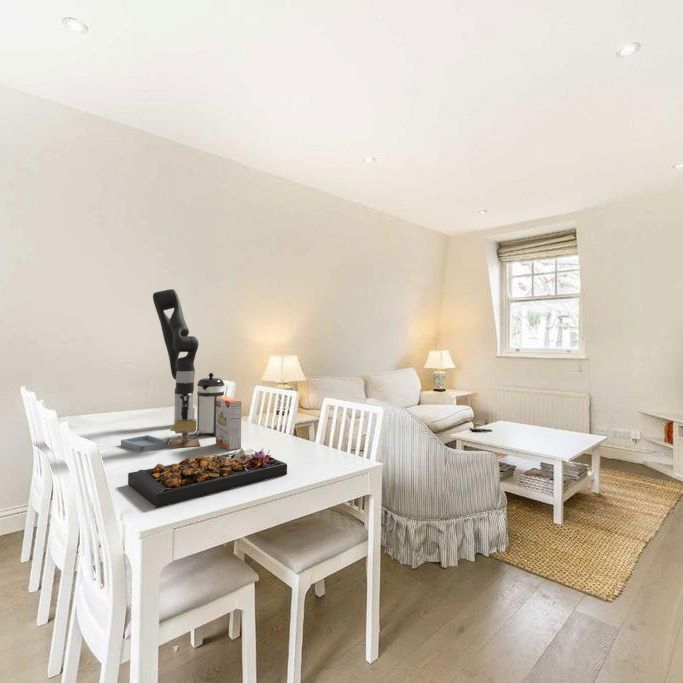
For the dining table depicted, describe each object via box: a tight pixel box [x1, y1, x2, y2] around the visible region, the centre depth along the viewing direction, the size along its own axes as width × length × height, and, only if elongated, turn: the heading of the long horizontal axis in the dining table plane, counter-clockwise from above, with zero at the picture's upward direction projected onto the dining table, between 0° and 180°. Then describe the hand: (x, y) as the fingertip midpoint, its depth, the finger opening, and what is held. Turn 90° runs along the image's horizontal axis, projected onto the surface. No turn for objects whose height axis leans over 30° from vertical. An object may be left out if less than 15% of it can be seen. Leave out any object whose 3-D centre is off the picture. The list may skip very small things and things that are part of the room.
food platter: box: [127, 446, 288, 509], centre depth 143 cm, size 45×25×10 cm, turn 133°
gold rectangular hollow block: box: [169, 418, 197, 432], centre depth 188 cm, size 10×6×4 cm, turn 113°
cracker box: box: [215, 396, 242, 451], centre depth 186 cm, size 14×6×21 cm, turn 39°
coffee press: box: [194, 372, 225, 438], centre depth 210 cm, size 17×16×30 cm
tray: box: [120, 434, 169, 453], centre depth 184 cm, size 17×12×2 cm
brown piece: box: [169, 430, 201, 450], centre depth 188 cm, size 12×12×6 cm
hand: (184, 417), depth 188 cm, fingers open, 8 cm apart
